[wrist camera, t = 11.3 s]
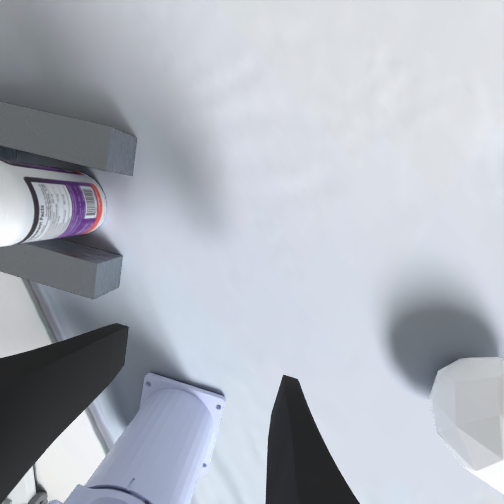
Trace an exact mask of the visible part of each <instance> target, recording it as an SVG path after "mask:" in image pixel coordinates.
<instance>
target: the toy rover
mask: <svg viewBox="0 0 504 504" xmlns="http://www.w3.org/2000/svg"><path fill="white" fill-rule="evenodd" d="M47 503H48V501H47V492H44V491H40V492H38V493H37V494H36V489H35V480H34V472H33V466H32V467H31V468H30V469H29V471H28V472H27V473H26V474H25V475H24V477H23V478H22V479H21V480H20V482H19V483H18V484H17V485H16V486H15V488H14V489H13V490H12V491H11V493H10V494H9V495H8V496H7V498H6V499H5V500H4V501H3V502H2V504H47Z"/></svg>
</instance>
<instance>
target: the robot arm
mask: <svg viewBox="0 0 504 504" xmlns="http://www.w3.org/2000/svg"><path fill="white" fill-rule="evenodd" d="M128 328H129V327H127V326H124V325H121V324H118V323H115V324H112V325H108V326H105V327H102V328H99V329H96V330H93V331H90V332H87V333H85V334H82V335H79V336H76V337H73V338H70V339H67V340H64V341H61V342H57V343H54V344H51V345H48V346H44V347H41V348H38V349H34V350H31V351H27V352H24V353H20V354H16V355H12V356H8V357H4V358H0V504H2V502H3V501H4V500H5V499H6V498H7V496H8V495H9V494H10V493H11V491H12V490H13V489H14V488H15V486H16V485H17V484H18V483H19V482H20V480H21V479H22V478H23V477H24V475H25V474H26V473H27V472H28V471H29V469H30V468H31V467H32V466H33V465H34V464H35V462H36V461H37V460H38V459H39V458H40V456H41V455H42V454H43V453H44V452H45V451H46V449H47V448H48V447H49V446H50V445H51V444H52V443H53V441H54V440H55V439H56V438H57V437H58V436H59V435H60V434H61V433H62V432H63V431H64V430H65V429H66V428H67V427H68V426H69V425H70V424H71V423H72V422H73V421H74V420H75V419H76V418H77V417H78V416H79V415H80V414H81V413H82V412H83V411H84V410H85V409H86V408H87V407H88V406H89V405H90V404H91V403H92V402H93V401H94V399H95V398H96V397H97V396H98V395H99V394H100V393H101V392H102V391H103V390H104V389H105V388H106V387H107V386H108V385H109V384H110V382H111V381H112V380H113V379H114V377H115V376H116V375H117V374H118V372H119V371H120V370H121V368H122V367H123V366H124V361H125V353H126V345H127V336H128ZM148 382H150V383H148ZM225 402H226V399H225V398H224V396H222V395H219V394H216V393H213V392H209V391H206V390H203V389H200V388H197V387H194V386H191V385H188V384H185V383H181V382H178V381H175V380H172V379H169V378H166V377H163V376H160V375H157V374H153V373H147V374H146V376H145V377H144V382H143V389H142V395H141V401H140V408H139V411H138V413H137V414H136V415H135V417H134V418H133V420H132V421H131V422H130V424H129V425H128V426H127V428H126V429H125V431H124V432H123V433H122V435H121V436H120V437H119V439H118V440H117V442H116V443H115V444H114V446H113V447H112V448H111V450H110V451H109V453H108V454H107V455H106V457H105V458H104V459H103V461H102V462H101V464H100V465H99V466H98V468H97V469H96V471H95V472H94V473H93V475H92V476H91V477H90V479H89V480H88V482H87V483H86V484H85V486H82V485H80V484H79V485H77V486H76V488H75V489H74V490H73V492H72V493H71V494H70V496H69V497H68V498H67V500H66V501H65V502H64V504H190V501H191V498H192V495H193V492H194V489H195V486H196V483H197V480H198V477H199V476H202V477H205V476H206V475H207V473H208V470H209V466H210V462H211V458H212V454H213V450H214V446H215V442H216V438H217V434H218V430H219V426H220V422H221V418H222V414H223V410H224V406H225ZM218 405H220V406H218ZM47 504H63V503H62V502H60V501H58V500H52V501H50V502H48V503H47ZM266 504H360V503H359V502H358V500H357V499H356V497H355V496H354V494H353V493H352V491H351V489H350V488H349V486H348V484H347V483H346V481H345V479H344V478H343V476H342V474H341V473H340V471H339V469H338V467H337V466H336V464H335V462H334V460H333V458H332V456H331V454H330V453H329V451H328V449H327V447H326V445H325V443H324V441H323V439H322V437H321V434H320V432H319V430H318V428H317V426H316V423H315V421H314V419H313V417H312V414H311V412H310V410H309V407H308V405H307V402H306V400H305V397H304V394H303V392H302V389H301V386H300V383H299V381H298V379H296V378H293V377H289V376H286V375H283V377H282V381H281V384H280V387H279V391H278V394H277V397H276V400H275V404H274V407H273V410H272V414H271V421H270V428H269V436H268V453H267V481H266Z"/></svg>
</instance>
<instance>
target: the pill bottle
mask: <svg viewBox="0 0 504 504" xmlns="http://www.w3.org/2000/svg"><path fill="white" fill-rule="evenodd" d="M105 214H106V199H105V195H104V193H103V191H102V189H101V187H100V186H99V185H98V183H97V182H96V181H95V180H94V179H93V178H91V177H90V176H88V175H86V174H84V173H82V172H78V171H73V170H68V169H60V168H54V167H47V166H40V165H34V164H27V163H21V162H15V161H8V160H2V159H0V247H2V246H11V245H17V244H24V243H29V242H36V241H42V240H49V239H55V238H62V237H69V236H75V235H82V234H87V233H90V232H92V231H94V230H96V229H97V228H98V227H99V226H100V225H101V224H102V222H103V220H104V218H105Z"/></svg>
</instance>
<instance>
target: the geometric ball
mask: <svg viewBox="0 0 504 504" xmlns="http://www.w3.org/2000/svg"><path fill="white" fill-rule="evenodd" d="M429 403H430V407H431V411H432V414H433V418H434V422H435V426H436V430H437V433H438V435H439V436H440V437H441V439H442V440H443V441H444V443H445V444H446V445H447V447H448V448H449V449H450V451H451V452H452V453H453V455H454V456H455V457H456V459H457V460H458V461H459V463H460V464H461V465H462V466H463V467H464V468H466V469H467V470H469V471H470V472H472V473H473V474H475V475H476V476H477V477H479V478H480V479H482V480H483V481H485V482H486V483H488V484H489V485H491V486H492V487H494V488H495V489H497V490H498V491H500V492H501V493H503V494H504V359H502V358H499V357H474V358H462V359H458V360H457V361H455V362H453V363H451V364H449V365H448V366H446V367H444V368H442V369H440V370H439V371H438V372H437V375H436V378H435V381H434V384H433V387H432V390H431V393H430V396H429Z"/></svg>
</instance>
